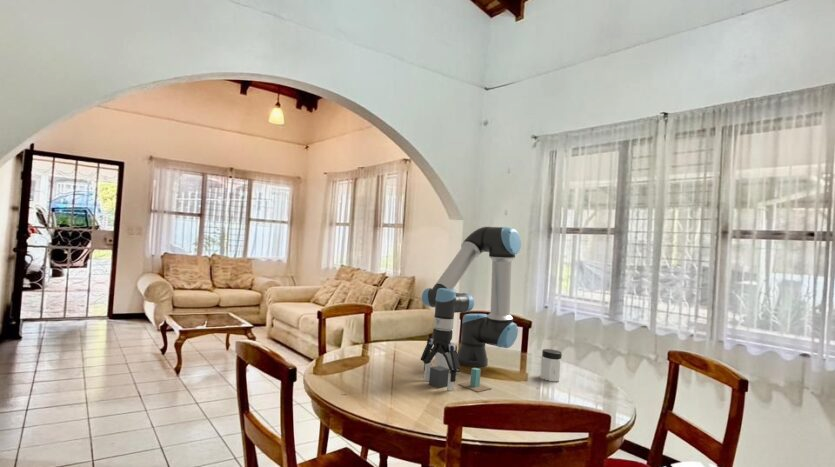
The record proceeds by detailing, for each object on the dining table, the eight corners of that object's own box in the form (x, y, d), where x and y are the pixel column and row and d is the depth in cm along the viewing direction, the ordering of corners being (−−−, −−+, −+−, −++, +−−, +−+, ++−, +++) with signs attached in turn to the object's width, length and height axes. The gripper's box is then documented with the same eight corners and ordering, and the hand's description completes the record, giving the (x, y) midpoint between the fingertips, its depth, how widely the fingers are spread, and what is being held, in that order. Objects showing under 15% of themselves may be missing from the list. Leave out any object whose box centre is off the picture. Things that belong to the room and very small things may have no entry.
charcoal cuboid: (428, 384, 172) (430, 367, 172) (438, 382, 176) (439, 365, 176) (438, 388, 168) (439, 370, 169) (447, 386, 172) (449, 369, 172)
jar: (544, 381, 191) (546, 352, 191) (536, 375, 199) (538, 348, 199) (563, 382, 192) (566, 354, 192) (555, 376, 200) (557, 349, 200)
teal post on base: (458, 384, 175) (459, 366, 175) (471, 381, 180) (473, 364, 181) (477, 392, 168) (479, 373, 168) (491, 389, 173) (492, 370, 173)
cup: (454, 375, 188) (456, 346, 188) (433, 373, 188) (435, 344, 188) (453, 369, 197) (455, 342, 197) (432, 367, 197) (435, 340, 197)
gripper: (414, 323, 179) (410, 377, 178) (459, 335, 161) (454, 396, 160) (428, 322, 184) (423, 375, 183) (473, 334, 166) (468, 393, 165)
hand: (438, 385), depth 172 cm, fingers open, 12 cm apart
